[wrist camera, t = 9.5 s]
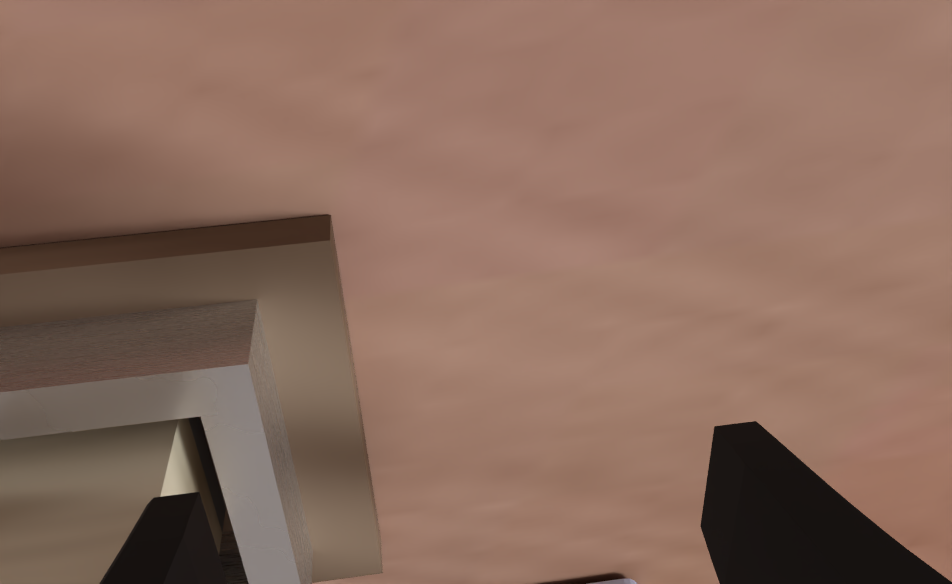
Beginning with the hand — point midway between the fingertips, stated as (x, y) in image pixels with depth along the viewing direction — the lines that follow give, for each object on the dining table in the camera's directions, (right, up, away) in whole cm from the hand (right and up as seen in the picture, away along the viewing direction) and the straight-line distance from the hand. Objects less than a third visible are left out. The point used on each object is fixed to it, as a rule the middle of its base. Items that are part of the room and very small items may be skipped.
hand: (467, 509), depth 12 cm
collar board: (-9, 0, +10) cm, 14 cm away
